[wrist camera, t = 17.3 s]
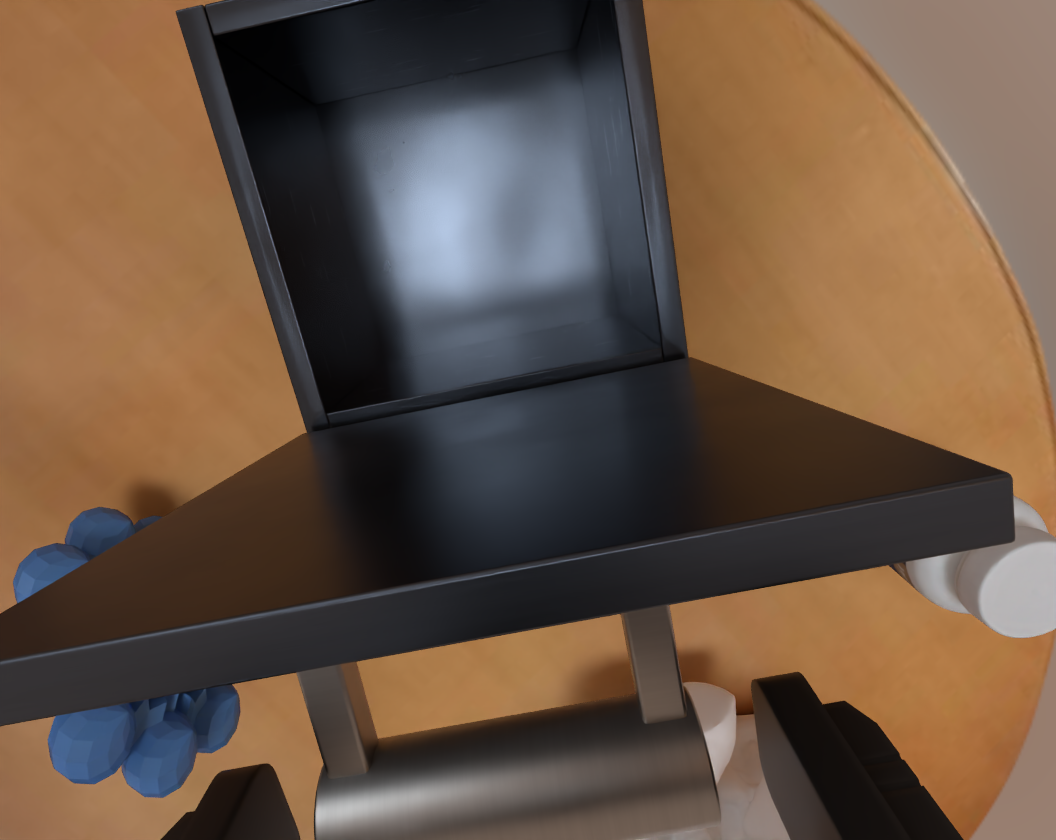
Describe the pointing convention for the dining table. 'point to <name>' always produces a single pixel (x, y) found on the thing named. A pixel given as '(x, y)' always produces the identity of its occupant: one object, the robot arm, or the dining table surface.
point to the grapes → (137, 727)
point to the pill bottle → (996, 579)
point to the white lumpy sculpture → (733, 771)
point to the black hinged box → (444, 193)
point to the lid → (498, 584)
